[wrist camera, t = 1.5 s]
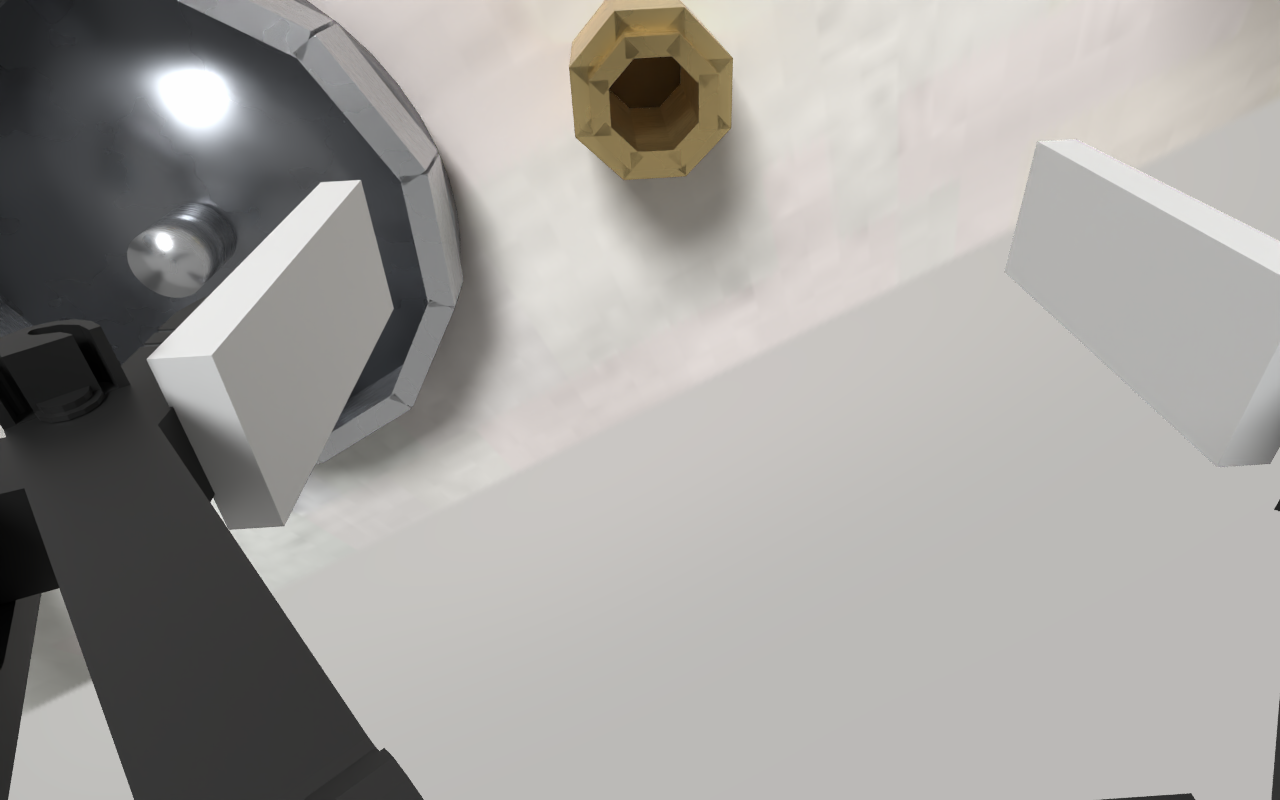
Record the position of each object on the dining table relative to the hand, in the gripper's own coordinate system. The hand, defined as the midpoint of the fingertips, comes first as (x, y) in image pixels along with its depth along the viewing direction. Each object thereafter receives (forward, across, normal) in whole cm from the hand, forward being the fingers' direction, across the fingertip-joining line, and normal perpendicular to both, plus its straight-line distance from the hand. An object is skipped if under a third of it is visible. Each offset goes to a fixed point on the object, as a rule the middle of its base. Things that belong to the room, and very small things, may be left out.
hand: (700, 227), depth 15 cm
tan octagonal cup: (+16, 0, 0) cm, 16 cm away
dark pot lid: (+16, -18, -5) cm, 25 cm away
